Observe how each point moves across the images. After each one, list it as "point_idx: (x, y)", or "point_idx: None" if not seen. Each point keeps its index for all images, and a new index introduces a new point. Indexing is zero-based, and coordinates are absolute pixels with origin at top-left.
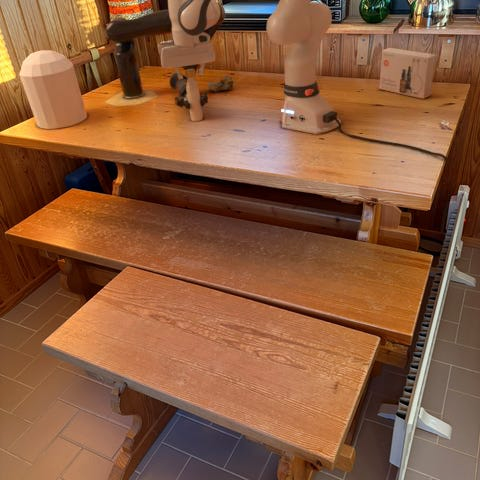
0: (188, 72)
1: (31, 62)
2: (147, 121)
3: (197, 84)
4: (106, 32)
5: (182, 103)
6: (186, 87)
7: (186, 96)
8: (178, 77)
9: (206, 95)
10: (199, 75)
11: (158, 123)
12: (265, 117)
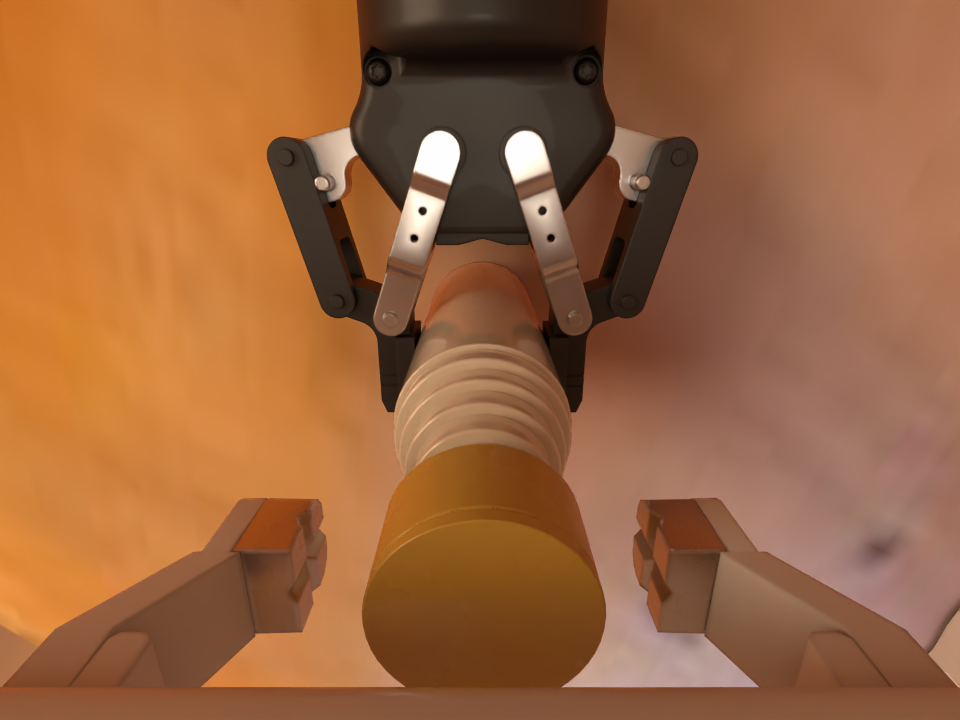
0: (431, 682)
1: None
2: (54, 152)
3: (568, 427)
4: None
5: (357, 315)
6: (396, 446)
7: (415, 228)
8: (239, 513)
9: (651, 266)
10: (641, 573)
11: (163, 255)
12: (923, 507)
